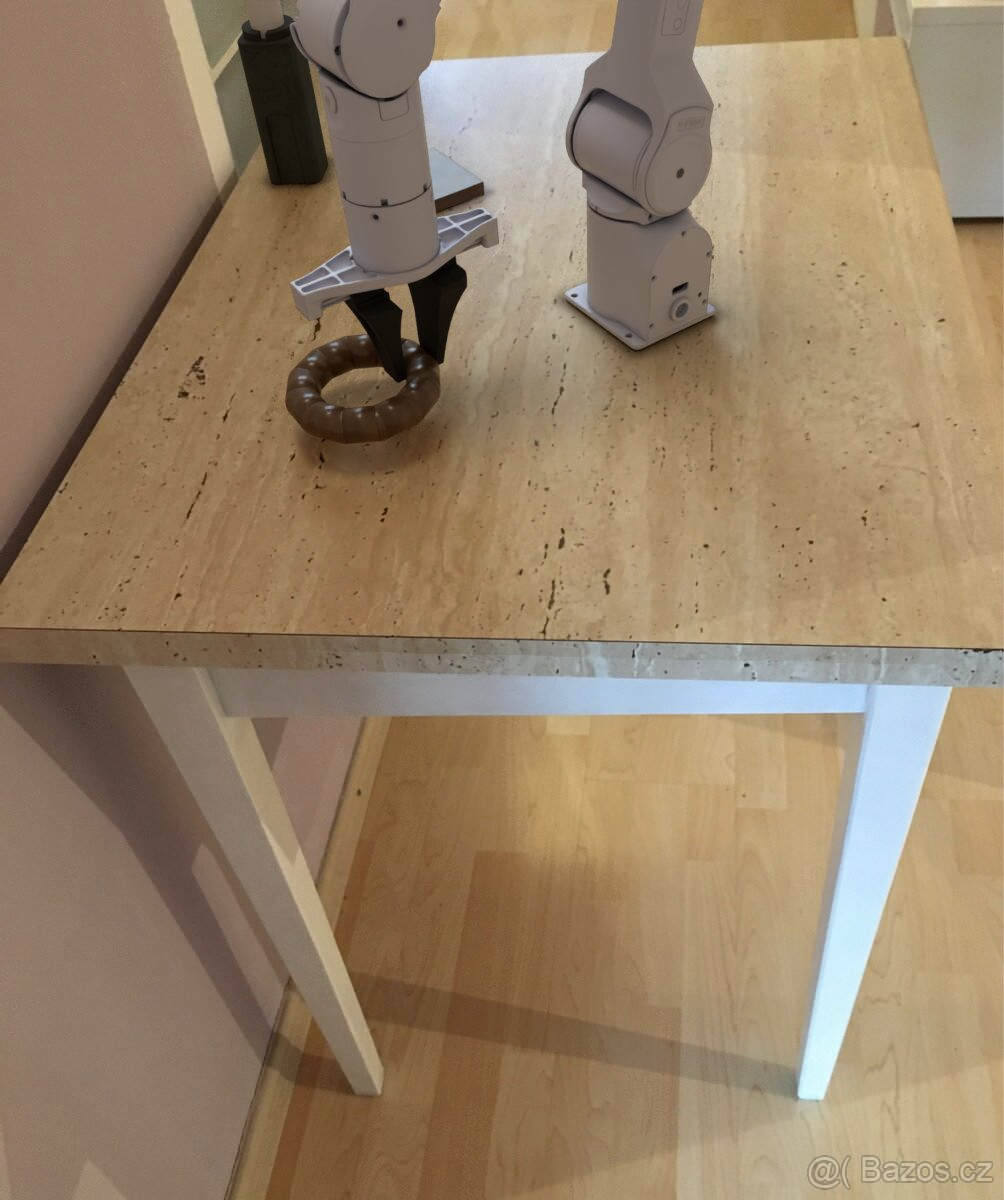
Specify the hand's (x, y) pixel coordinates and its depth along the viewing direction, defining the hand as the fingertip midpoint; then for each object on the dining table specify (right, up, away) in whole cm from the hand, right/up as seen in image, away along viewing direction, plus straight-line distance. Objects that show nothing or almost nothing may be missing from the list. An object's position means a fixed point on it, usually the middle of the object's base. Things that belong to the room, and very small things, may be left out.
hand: (414, 366), depth 75 cm
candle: (-13, +25, +27) cm, 39 cm away
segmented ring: (-4, -2, -1) cm, 4 cm away
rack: (-2, +21, +23) cm, 31 cm away
